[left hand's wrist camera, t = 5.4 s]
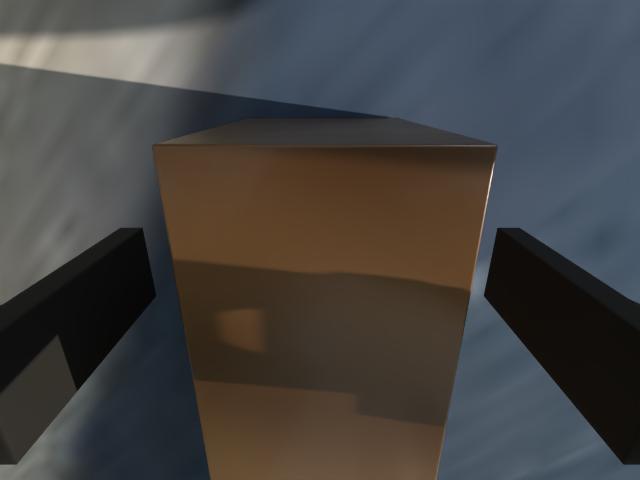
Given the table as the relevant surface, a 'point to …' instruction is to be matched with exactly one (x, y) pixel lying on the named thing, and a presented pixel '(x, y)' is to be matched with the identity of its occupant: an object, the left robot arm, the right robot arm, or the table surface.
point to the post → (324, 289)
